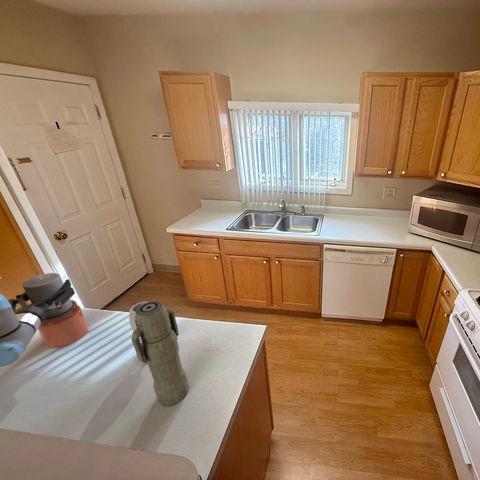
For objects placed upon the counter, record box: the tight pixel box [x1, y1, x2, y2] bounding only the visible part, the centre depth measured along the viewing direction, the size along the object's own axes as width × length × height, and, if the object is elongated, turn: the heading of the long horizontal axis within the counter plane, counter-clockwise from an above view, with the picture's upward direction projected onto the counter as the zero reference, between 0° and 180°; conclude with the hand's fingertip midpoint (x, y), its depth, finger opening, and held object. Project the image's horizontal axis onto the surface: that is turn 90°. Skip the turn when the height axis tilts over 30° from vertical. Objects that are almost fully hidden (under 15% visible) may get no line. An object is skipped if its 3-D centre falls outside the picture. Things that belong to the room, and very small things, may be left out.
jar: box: [37, 299, 90, 349], centre depth 100 cm, size 13×13×13 cm
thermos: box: [131, 300, 190, 407], centre depth 75 cm, size 9×12×35 cm
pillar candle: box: [21, 272, 72, 318], centre depth 94 cm, size 10×10×15 cm
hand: (51, 285), depth 97 cm, fingers closed on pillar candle, 9 cm apart
